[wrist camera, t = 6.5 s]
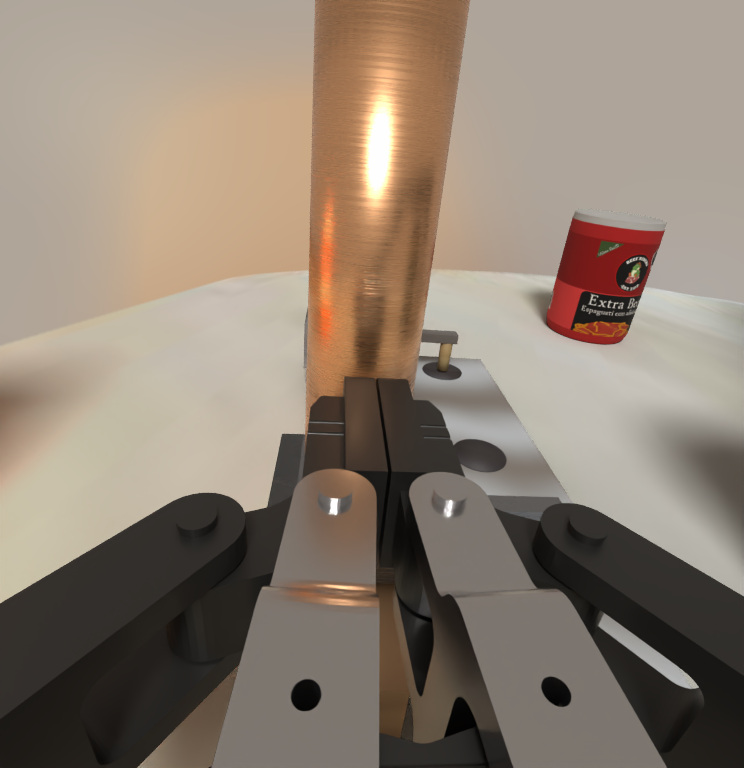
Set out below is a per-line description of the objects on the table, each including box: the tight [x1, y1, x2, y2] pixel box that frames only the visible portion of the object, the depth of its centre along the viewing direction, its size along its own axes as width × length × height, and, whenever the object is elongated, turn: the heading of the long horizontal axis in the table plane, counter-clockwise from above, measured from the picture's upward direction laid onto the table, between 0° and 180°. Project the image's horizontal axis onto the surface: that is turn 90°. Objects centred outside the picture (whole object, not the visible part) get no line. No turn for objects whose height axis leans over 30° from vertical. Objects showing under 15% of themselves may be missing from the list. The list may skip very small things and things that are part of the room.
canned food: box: [547, 209, 666, 344], centre depth 44 cm, size 8×8×11 cm
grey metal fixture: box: [304, 310, 692, 738], centre depth 20 cm, size 25×13×18 cm, turn 4°
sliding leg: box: [267, 0, 562, 583], centre depth 13 cm, size 5×10×16 cm, turn 93°
